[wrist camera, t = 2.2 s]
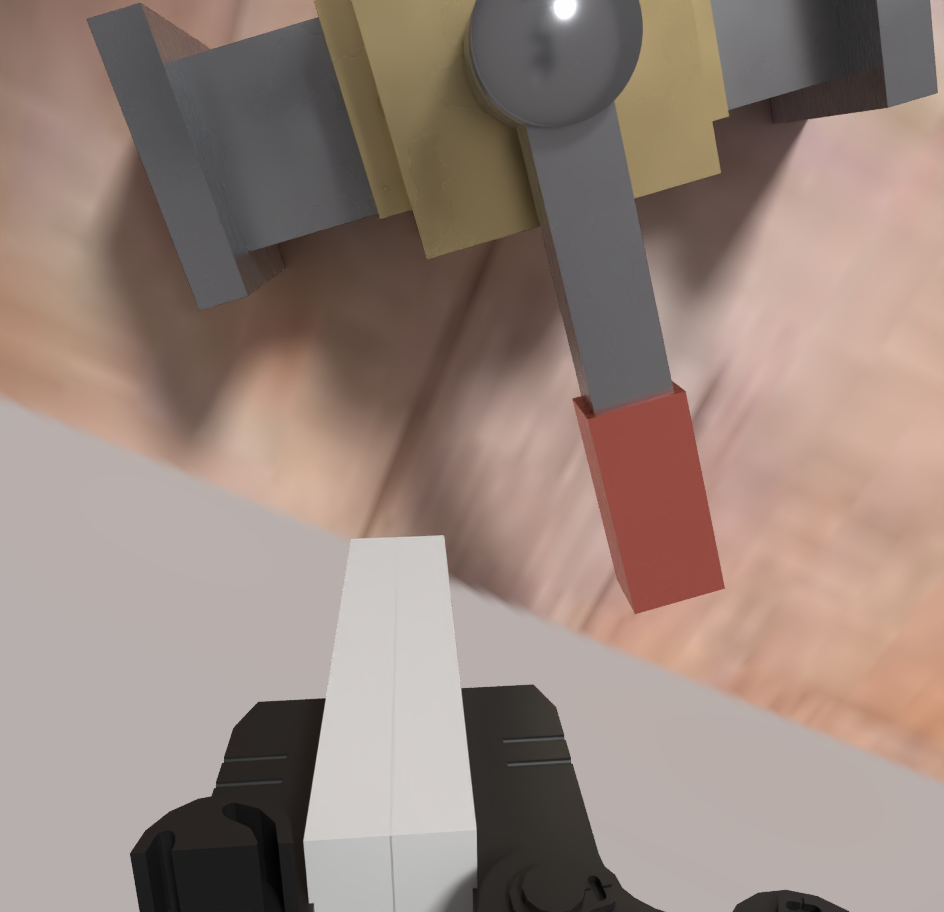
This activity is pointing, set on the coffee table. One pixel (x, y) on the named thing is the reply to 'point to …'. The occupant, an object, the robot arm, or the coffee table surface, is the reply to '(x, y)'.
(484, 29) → the lever
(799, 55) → the valve body
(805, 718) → the coffee table surface
